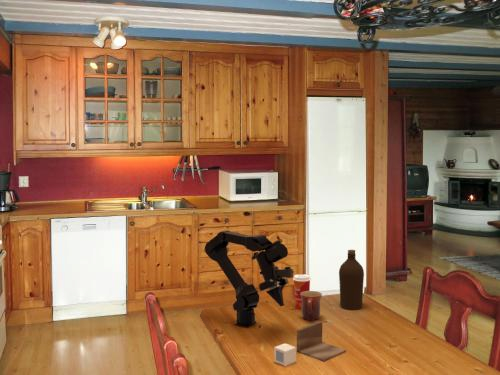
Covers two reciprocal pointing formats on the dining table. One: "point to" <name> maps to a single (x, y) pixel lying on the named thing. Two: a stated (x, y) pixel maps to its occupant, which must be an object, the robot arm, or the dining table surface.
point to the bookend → (315, 343)
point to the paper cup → (300, 288)
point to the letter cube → (285, 354)
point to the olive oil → (351, 283)
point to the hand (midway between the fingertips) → (282, 306)
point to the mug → (311, 304)
